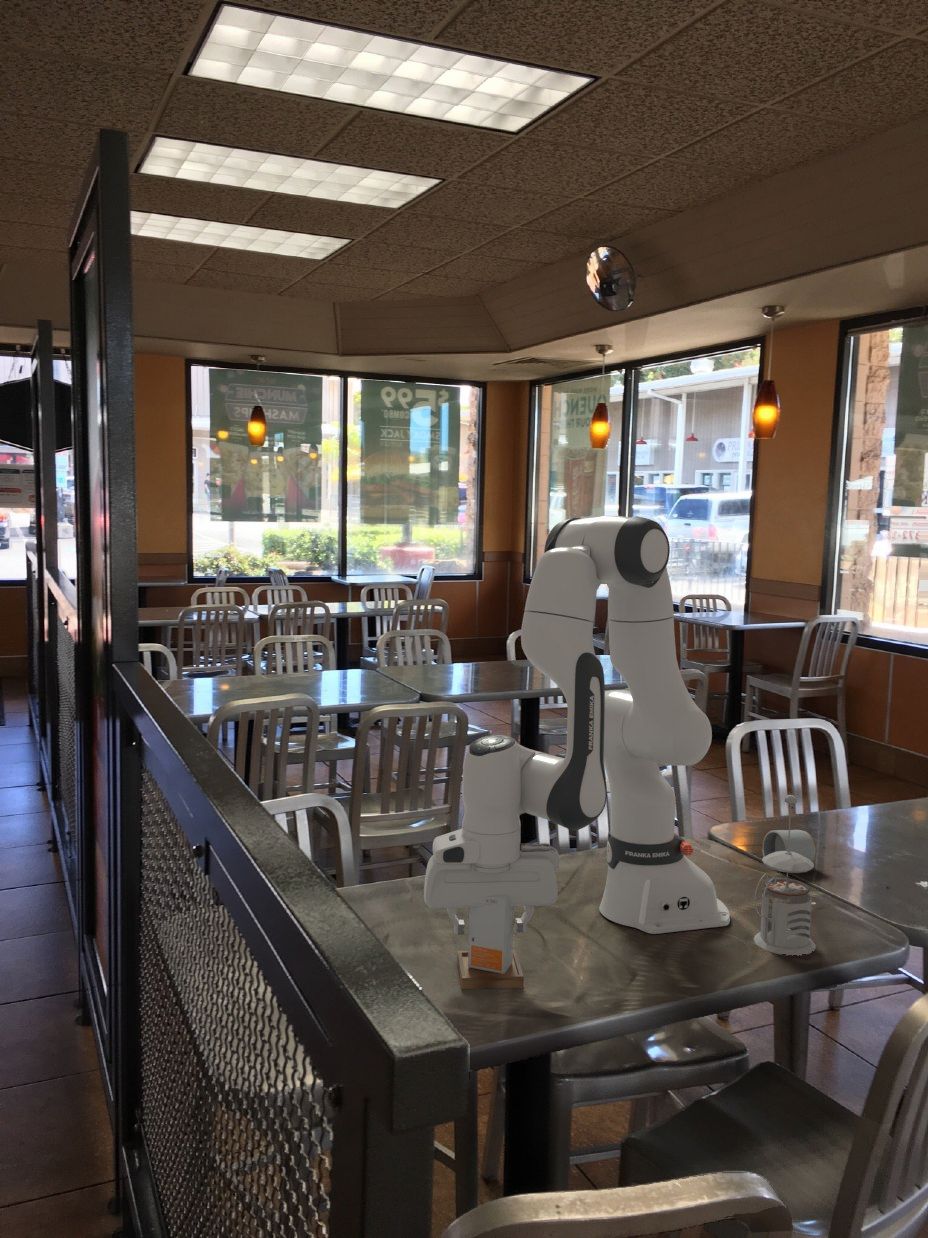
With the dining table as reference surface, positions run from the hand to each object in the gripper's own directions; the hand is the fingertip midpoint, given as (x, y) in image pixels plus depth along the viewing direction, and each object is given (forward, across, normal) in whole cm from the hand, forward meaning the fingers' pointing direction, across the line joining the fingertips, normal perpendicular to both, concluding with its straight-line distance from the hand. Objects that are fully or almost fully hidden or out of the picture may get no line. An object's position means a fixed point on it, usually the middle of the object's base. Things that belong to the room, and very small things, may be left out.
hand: (490, 932), depth 152 cm
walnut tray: (+7, 0, 0) cm, 7 cm away
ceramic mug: (+7, -64, -45) cm, 79 cm away
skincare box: (+6, 0, 0) cm, 6 cm away
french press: (+7, -49, -8) cm, 50 cm away
